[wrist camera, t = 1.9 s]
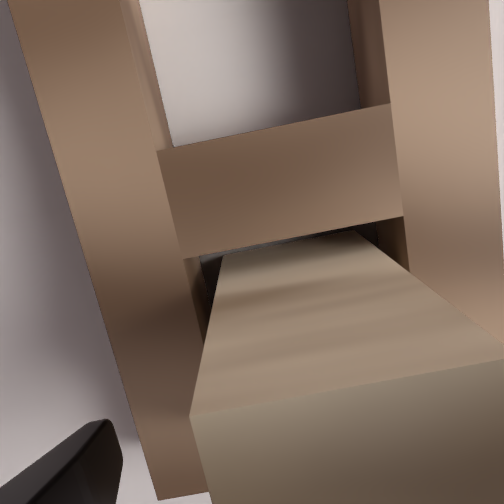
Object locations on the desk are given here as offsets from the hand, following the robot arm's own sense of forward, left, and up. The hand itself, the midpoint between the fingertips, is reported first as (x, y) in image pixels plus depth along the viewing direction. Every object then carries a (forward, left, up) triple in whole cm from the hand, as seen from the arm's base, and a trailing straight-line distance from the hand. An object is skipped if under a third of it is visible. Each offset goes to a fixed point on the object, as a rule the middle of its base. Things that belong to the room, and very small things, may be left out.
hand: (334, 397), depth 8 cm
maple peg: (0, 0, -5) cm, 5 cm away
